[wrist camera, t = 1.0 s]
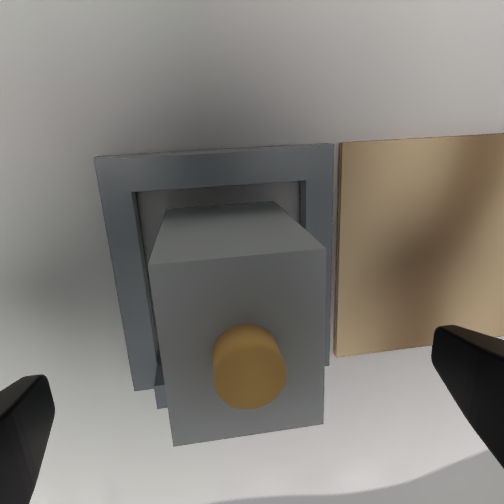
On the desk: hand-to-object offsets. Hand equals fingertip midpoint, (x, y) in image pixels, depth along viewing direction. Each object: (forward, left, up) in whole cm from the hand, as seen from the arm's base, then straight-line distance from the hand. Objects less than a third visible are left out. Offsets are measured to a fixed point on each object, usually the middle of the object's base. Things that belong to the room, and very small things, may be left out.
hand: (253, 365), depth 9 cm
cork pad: (-9, 0, -6) cm, 11 cm away
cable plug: (0, 0, -6) cm, 7 cm away
